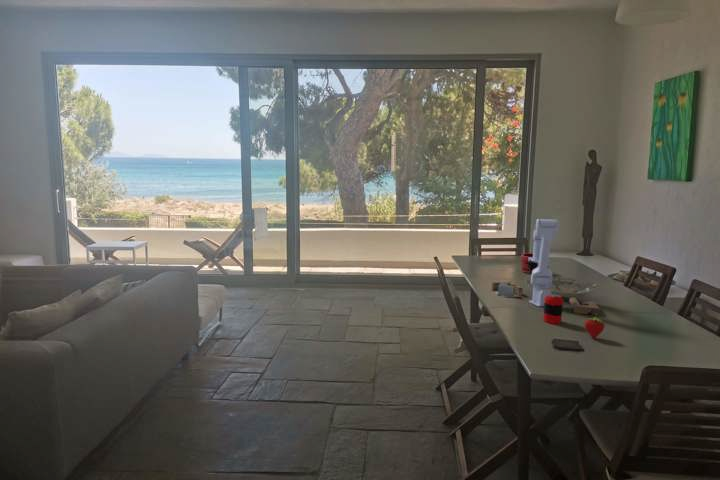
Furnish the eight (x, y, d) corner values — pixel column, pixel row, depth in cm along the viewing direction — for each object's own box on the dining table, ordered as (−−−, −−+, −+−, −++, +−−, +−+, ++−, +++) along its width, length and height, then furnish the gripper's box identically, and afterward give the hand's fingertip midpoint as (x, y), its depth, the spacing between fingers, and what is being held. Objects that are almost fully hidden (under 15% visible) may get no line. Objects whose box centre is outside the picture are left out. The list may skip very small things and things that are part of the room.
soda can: (550, 324, 215) (552, 298, 214) (539, 319, 223) (541, 294, 221) (564, 323, 217) (567, 297, 216) (553, 318, 225) (555, 293, 223)
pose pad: (494, 292, 270) (494, 291, 270) (509, 291, 272) (509, 291, 272) (502, 297, 260) (502, 296, 260) (518, 296, 261) (518, 296, 261)
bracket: (500, 291, 272) (500, 282, 271) (515, 293, 268) (515, 284, 268) (497, 294, 263) (498, 285, 263) (513, 296, 260) (513, 287, 259)
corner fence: (521, 295, 263) (522, 287, 263) (502, 296, 261) (502, 288, 261) (510, 289, 276) (511, 282, 275) (491, 290, 274) (492, 282, 273)
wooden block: (599, 308, 230) (591, 298, 247) (575, 306, 232) (569, 296, 249) (599, 315, 230) (591, 305, 247) (574, 313, 233) (568, 303, 250)
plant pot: (515, 271, 326) (517, 253, 324) (530, 269, 332) (532, 252, 330) (530, 275, 314) (531, 257, 313) (545, 273, 320) (546, 256, 318)
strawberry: (581, 334, 203) (583, 311, 201) (600, 336, 202) (602, 312, 200) (585, 339, 197) (587, 315, 196) (605, 341, 196) (607, 317, 195)
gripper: (524, 249, 270) (522, 273, 272) (540, 254, 256) (538, 279, 258) (535, 249, 272) (533, 273, 274) (552, 254, 258) (550, 279, 260)
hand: (536, 276), depth 266 cm, fingers open, 7 cm apart
